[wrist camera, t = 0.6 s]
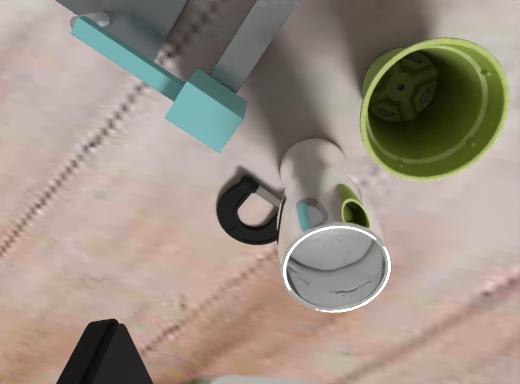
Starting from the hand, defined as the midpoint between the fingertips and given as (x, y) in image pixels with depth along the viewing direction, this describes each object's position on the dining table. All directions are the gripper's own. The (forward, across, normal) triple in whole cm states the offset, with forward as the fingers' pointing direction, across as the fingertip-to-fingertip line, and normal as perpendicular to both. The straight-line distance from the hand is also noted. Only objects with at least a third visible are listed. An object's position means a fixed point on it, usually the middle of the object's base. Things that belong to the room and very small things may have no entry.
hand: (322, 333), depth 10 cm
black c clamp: (+28, +3, +15) cm, 32 cm away
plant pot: (+28, -9, +2) cm, 30 cm away
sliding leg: (+26, +9, -3) cm, 28 cm away
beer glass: (+28, -1, +8) cm, 29 cm away
